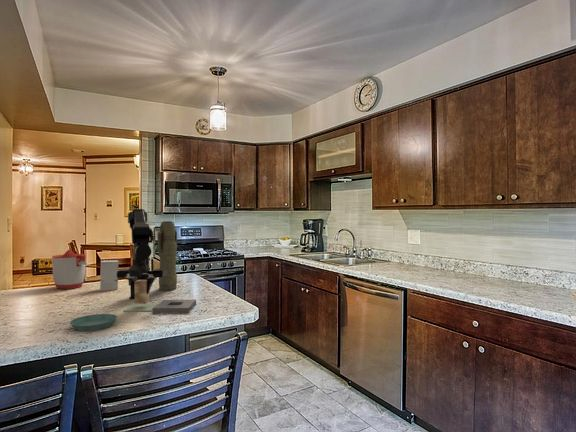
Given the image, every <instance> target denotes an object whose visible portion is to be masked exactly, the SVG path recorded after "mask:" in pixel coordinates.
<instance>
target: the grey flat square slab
mask: <svg viewBox="0 0 576 432" xmlns="http://www.w3.org/2000/svg"><path fill="white" fill-rule="evenodd" d="M156 304H157V305H156V306H155V307H154V308H153V310H152V314H188V313H190V312H191V311H192V309H194V307H195V306H196V305H197V299H162V300H161V301H160V302H158V303H156Z"/></svg>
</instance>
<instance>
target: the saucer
mask: <svg viewBox="0 0 576 432" xmlns="http://www.w3.org/2000/svg"><path fill="white" fill-rule="evenodd" d="M117 319H118V316H117V315H116V314H112V313H96V314H90V315H89V314H88V315H83V316H80V317H77V318H74V319H72V320H70V322H69V324H70V326H71V327H72V328H74V329H75V330H76V331H80V332H92V331H98V330H99V331H100V330H103V329H106V328H108V327H111V326H112V325H113V323H114V322H115V321H116V320H117Z"/></svg>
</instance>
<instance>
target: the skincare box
mask: <svg viewBox="0 0 576 432" xmlns="http://www.w3.org/2000/svg"><path fill="white" fill-rule="evenodd" d="M118 270H119V260H117V259H116V260H101V261H100V282H99V283H100V285H99V290H100V292H104V291H105V292H106V291H115V290H118V289H119V286H118V285H119V278H117V271H118Z"/></svg>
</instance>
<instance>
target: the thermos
mask: <svg viewBox="0 0 576 432" xmlns="http://www.w3.org/2000/svg"><path fill="white" fill-rule="evenodd" d="M177 249H178V232H177V230H176V226H175V222H173V221H171V220H170V221H169V220H168V221H167V220H166V221H161V223H160V225H159V230H158V232H157V250H158V256H159V269H165V270H166V276H164V277H158V285H159V286H158V287H159V288H158V289H159V291H164V292H165V291H167V290H168V291H174V289H175V290H177V289H178V287H177V284H178V276H177V270H176V268H177V265H176V264H177V261H176V258H177V257H176V256H177V251H178V250H177ZM176 288H177V289H176ZM168 291H167V292H168Z"/></svg>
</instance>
